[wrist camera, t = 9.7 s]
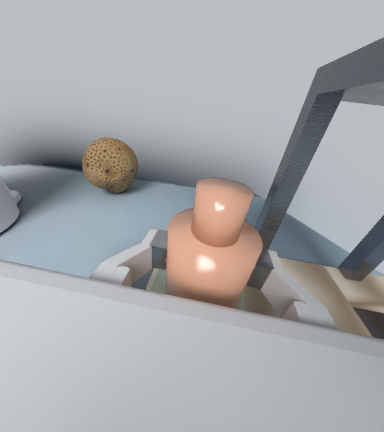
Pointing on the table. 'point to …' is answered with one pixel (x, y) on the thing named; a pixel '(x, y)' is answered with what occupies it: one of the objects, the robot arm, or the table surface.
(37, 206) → the table surface
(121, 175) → the natural sponge
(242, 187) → the terracotta bottle
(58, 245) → the table surface
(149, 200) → the table surface
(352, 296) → the birch board
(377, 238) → the tunnel roof
